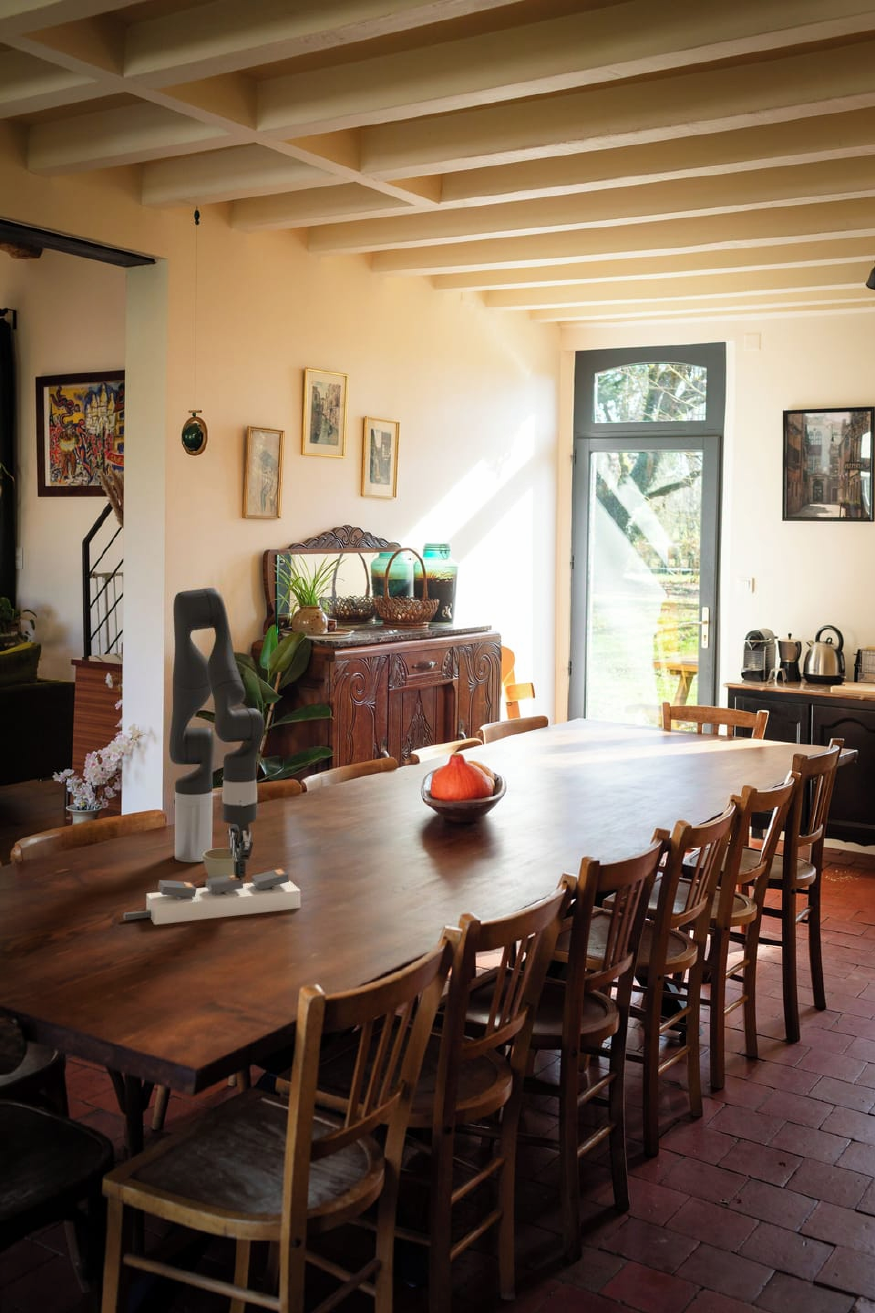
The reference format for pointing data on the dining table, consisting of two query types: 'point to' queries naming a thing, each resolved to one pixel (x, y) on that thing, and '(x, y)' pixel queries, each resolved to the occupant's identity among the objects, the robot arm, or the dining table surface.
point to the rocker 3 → (270, 879)
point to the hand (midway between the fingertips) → (239, 876)
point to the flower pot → (218, 862)
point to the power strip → (218, 903)
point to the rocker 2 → (223, 883)
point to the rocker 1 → (176, 888)
